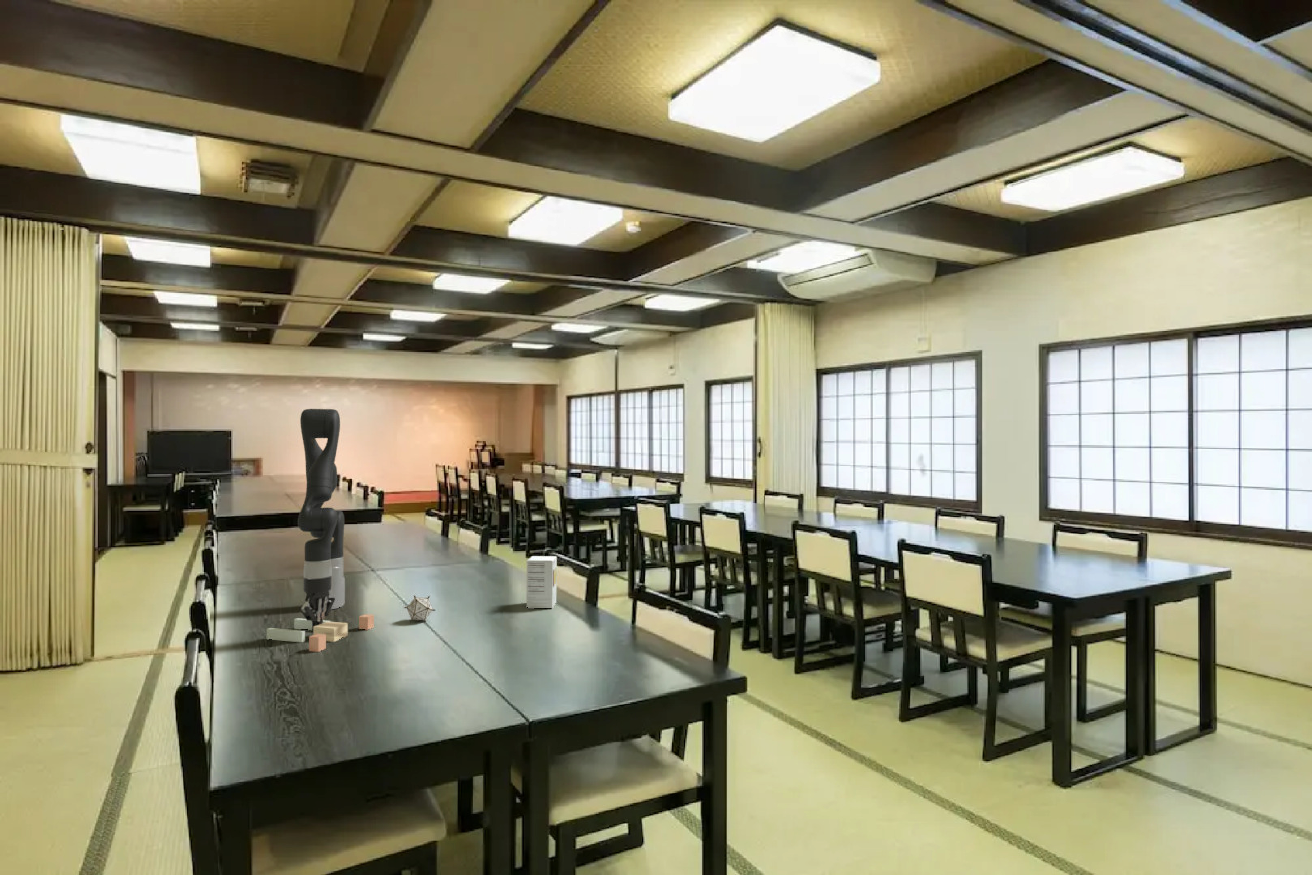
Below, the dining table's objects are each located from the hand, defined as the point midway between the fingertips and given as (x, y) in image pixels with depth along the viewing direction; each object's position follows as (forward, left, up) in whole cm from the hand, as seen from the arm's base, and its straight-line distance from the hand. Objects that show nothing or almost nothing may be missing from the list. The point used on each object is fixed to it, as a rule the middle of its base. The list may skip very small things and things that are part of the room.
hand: (317, 633), depth 212 cm
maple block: (0, +5, -1) cm, 5 cm away
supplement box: (-52, +50, -1) cm, 72 cm away
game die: (-23, +20, -1) cm, 30 cm away
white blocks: (0, -6, -1) cm, 6 cm away
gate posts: (0, +9, -1) cm, 9 cm away
